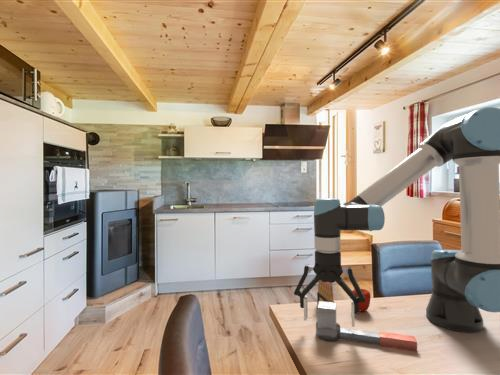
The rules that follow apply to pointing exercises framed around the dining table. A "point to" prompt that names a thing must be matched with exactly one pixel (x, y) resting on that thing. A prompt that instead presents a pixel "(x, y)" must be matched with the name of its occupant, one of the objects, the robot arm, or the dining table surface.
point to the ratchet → (368, 338)
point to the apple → (365, 305)
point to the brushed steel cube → (327, 315)
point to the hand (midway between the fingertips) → (328, 321)
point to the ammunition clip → (325, 292)
